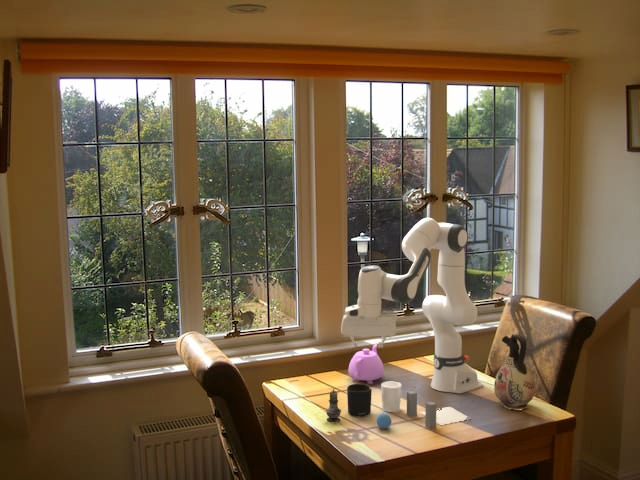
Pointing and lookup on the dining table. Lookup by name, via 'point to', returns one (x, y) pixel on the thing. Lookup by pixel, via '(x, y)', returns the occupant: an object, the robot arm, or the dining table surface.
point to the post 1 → (411, 403)
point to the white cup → (391, 396)
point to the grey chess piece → (333, 408)
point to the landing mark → (448, 416)
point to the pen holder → (359, 400)
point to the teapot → (366, 365)
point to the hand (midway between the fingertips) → (367, 347)
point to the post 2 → (430, 415)
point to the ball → (383, 420)
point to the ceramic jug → (514, 376)
